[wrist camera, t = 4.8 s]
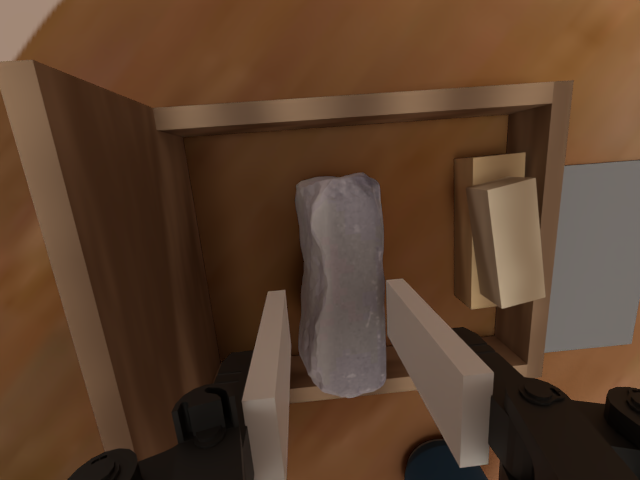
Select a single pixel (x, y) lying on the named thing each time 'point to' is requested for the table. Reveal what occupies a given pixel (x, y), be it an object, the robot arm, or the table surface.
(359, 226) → the stone block
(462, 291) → the block
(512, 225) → the offcut short
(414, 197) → the table surface
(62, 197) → the wooden tray
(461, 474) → the soda can
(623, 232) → the mat
